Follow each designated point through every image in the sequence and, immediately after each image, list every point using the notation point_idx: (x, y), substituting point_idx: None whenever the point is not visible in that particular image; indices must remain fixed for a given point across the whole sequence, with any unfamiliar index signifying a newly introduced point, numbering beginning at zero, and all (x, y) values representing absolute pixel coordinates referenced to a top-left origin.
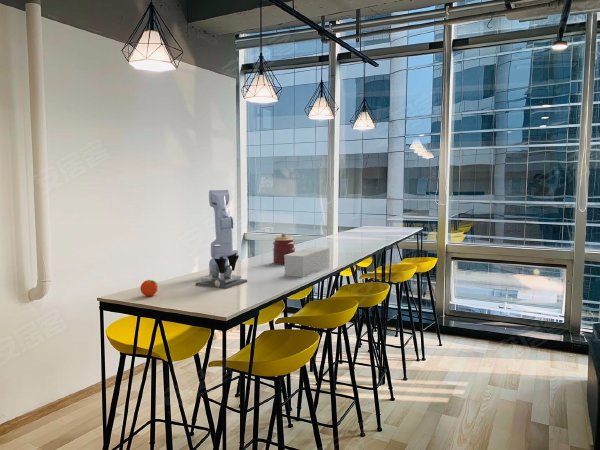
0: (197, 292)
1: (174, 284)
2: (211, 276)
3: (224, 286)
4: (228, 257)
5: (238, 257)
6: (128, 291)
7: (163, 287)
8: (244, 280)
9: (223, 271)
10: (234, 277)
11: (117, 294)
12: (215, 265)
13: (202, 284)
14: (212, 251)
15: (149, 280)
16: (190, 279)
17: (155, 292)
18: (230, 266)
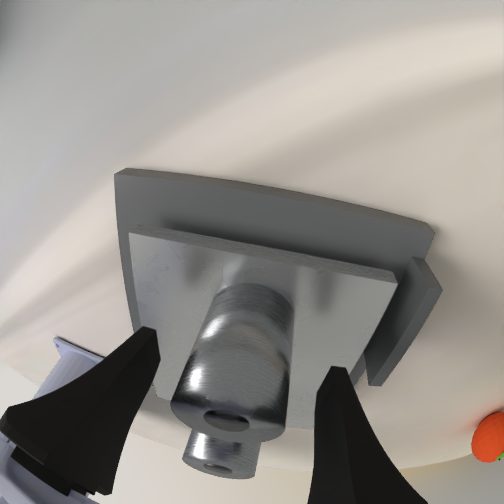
0: (491, 336)
1: None
2: None
3: (426, 248)
4: (109, 480)
5: (13, 406)
6: (417, 465)
7: None
8: (149, 177)
9: (351, 384)
10: (219, 263)
11: (444, 459)
12: (242, 470)
13: None
14: (87, 492)
15: (502, 456)
16: None
17: (501, 415)
18: (237, 394)
